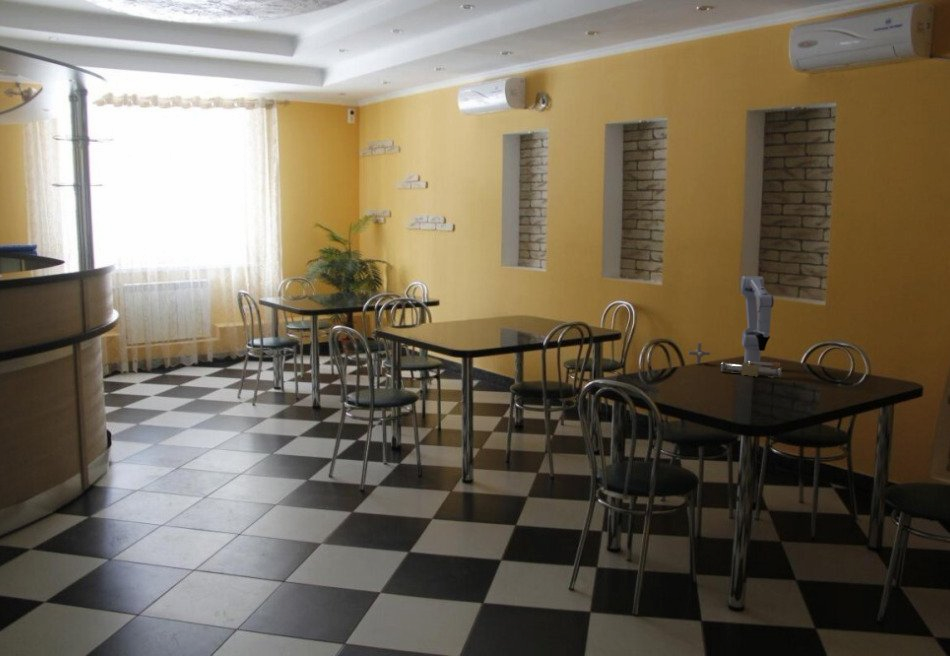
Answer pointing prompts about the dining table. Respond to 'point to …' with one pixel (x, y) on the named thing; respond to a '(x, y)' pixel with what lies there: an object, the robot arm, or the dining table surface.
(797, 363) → the dining table surface
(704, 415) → the dining table surface
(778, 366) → the lever
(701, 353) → the pipe connector
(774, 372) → the valve pipe
